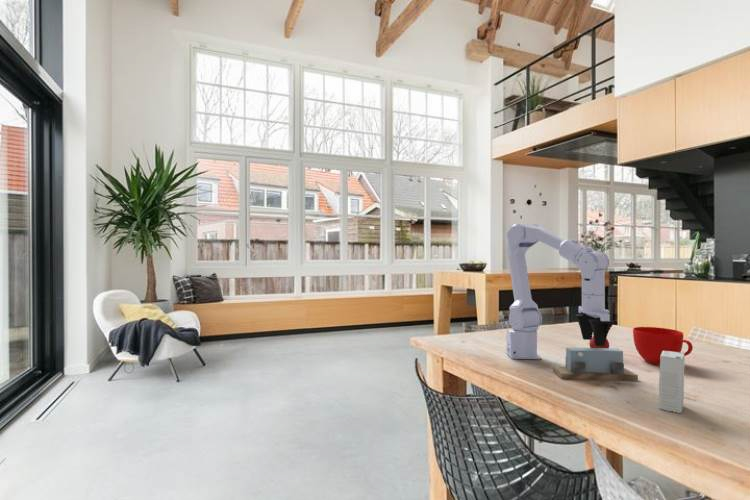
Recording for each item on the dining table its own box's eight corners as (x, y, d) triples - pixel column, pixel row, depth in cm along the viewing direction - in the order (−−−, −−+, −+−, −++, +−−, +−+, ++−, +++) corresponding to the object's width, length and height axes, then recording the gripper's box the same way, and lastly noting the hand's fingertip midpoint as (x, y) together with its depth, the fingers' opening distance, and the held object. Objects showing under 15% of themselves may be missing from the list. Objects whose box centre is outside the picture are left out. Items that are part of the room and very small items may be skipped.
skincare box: (660, 401, 93) (660, 349, 93) (685, 406, 90) (684, 352, 90) (658, 409, 88) (657, 354, 88) (683, 414, 86) (683, 358, 86)
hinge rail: (561, 378, 109) (561, 362, 109) (553, 371, 116) (552, 356, 116) (637, 380, 108) (637, 364, 108) (625, 373, 114) (624, 357, 114)
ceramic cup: (674, 374, 114) (674, 338, 114) (623, 358, 130) (623, 327, 130) (708, 370, 117) (708, 336, 117) (654, 355, 133) (654, 325, 133)
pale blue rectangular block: (571, 372, 110) (571, 351, 110) (566, 368, 114) (566, 347, 114) (624, 373, 109) (624, 351, 109) (617, 369, 113) (617, 348, 113)
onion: (604, 353, 136) (604, 330, 136) (612, 358, 131) (612, 333, 131) (586, 353, 137) (586, 329, 137) (594, 357, 131) (594, 333, 131)
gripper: (621, 297, 105) (621, 349, 105) (595, 291, 119) (595, 337, 119) (593, 297, 105) (593, 348, 105) (571, 291, 120) (571, 336, 120)
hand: (593, 342), depth 112 cm, fingers open, 7 cm apart
